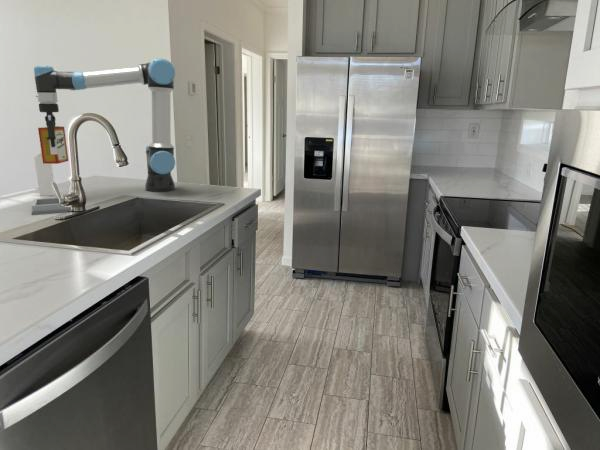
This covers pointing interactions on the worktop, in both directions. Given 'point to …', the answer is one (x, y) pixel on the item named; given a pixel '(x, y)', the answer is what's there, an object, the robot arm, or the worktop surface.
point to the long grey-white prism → (44, 176)
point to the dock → (48, 206)
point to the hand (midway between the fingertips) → (54, 152)
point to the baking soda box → (60, 142)
